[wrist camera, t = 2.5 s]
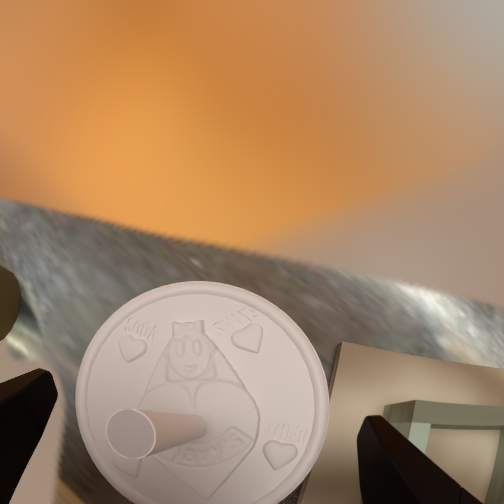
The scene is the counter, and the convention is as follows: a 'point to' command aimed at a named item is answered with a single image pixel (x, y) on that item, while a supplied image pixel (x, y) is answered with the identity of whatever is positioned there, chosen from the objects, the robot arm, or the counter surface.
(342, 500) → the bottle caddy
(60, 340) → the counter surface
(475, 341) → the counter surface
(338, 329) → the counter surface
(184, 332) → the smoothie
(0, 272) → the cork
